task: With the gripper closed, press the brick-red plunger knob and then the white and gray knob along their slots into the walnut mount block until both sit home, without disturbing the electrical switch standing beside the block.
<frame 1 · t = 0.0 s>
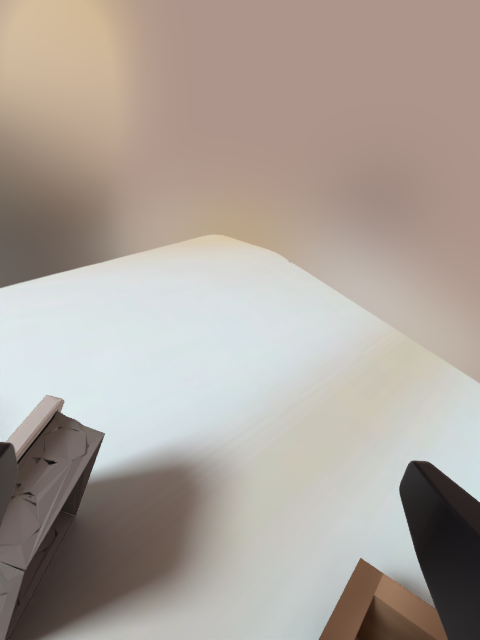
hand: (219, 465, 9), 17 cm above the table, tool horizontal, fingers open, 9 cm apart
electrical switch: (27, 570, 23), on the table
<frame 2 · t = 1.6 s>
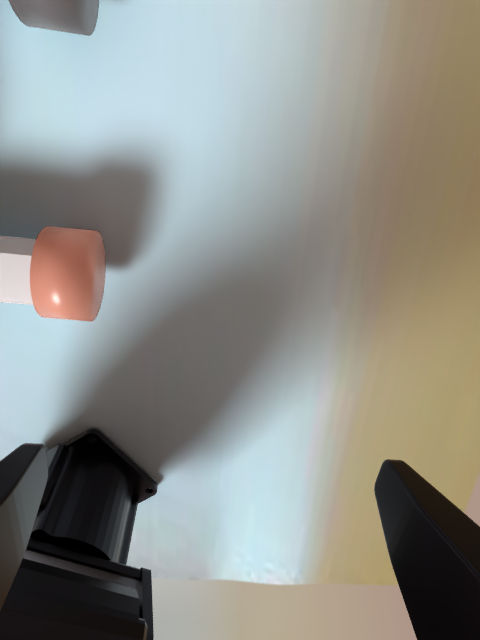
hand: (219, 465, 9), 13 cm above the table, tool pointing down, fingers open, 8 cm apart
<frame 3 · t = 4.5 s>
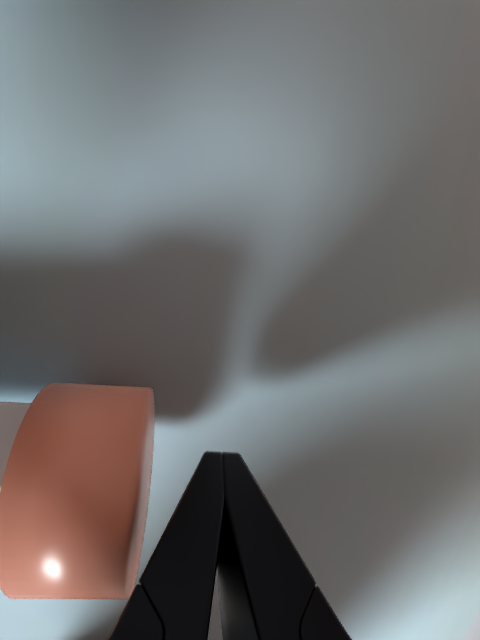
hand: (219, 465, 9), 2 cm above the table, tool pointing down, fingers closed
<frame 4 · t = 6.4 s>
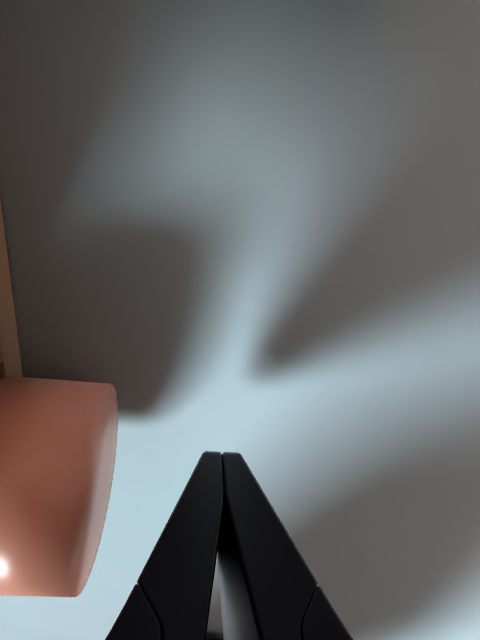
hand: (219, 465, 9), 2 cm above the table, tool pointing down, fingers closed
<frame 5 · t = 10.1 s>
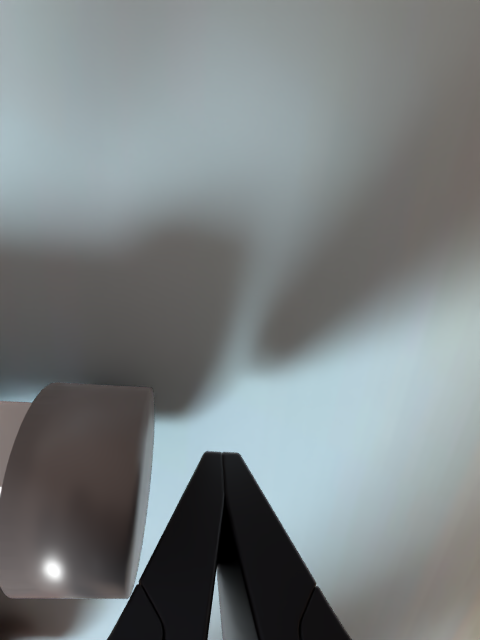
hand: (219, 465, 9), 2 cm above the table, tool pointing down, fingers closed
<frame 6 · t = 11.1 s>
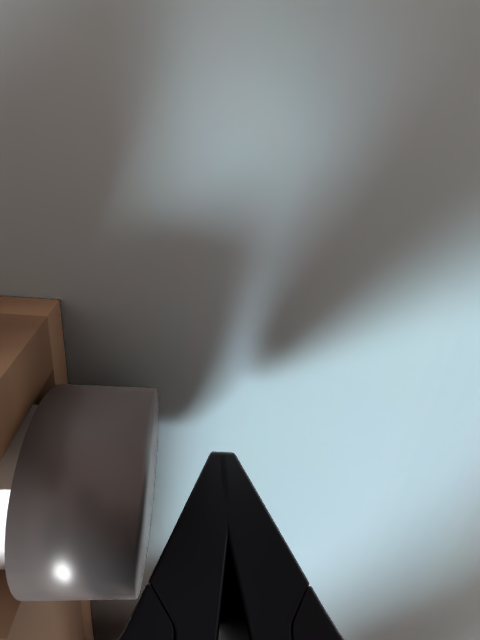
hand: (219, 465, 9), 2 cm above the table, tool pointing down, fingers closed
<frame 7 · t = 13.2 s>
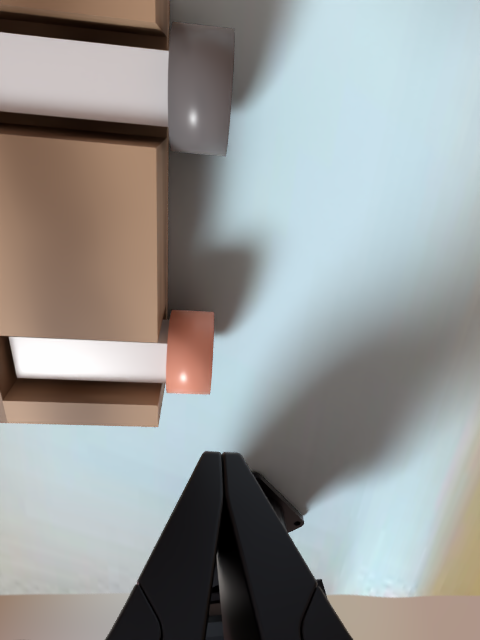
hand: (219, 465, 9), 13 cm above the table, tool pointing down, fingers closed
mount: (80, 217, 19), on the table
red knob: (119, 348, 20), point 2 cm above the table, slide at 0.0 cm
white and gray knob: (103, 83, 14), point 2 cm above the table, slide at 0.0 cm
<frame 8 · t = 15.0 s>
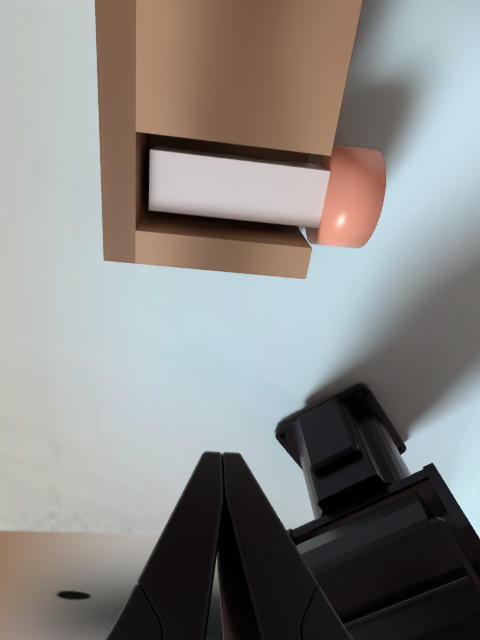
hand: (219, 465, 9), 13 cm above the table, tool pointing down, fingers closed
mount: (226, 30, 16), on the table
red knob: (261, 188, 17), point 2 cm above the table, slide at 0.0 cm
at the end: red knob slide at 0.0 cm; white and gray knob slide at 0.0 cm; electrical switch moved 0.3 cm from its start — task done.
